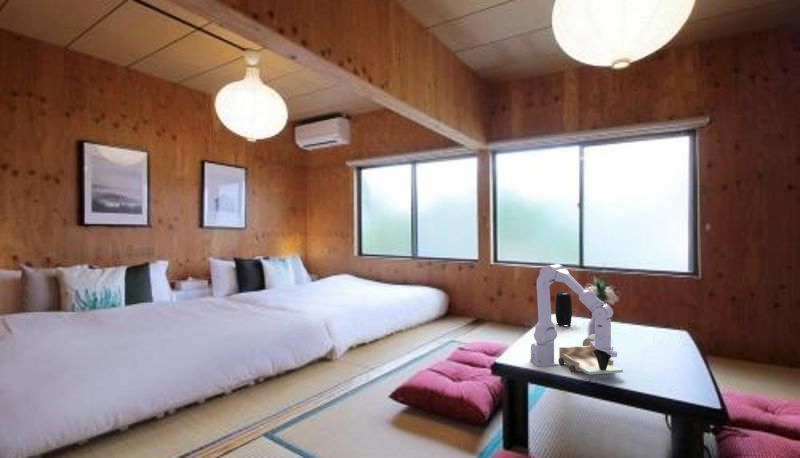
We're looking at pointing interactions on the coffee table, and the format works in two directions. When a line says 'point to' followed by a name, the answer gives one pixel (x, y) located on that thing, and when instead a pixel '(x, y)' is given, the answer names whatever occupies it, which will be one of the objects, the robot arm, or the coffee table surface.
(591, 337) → the ceramic mug
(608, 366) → the tailgate
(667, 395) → the coffee table surface
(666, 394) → the coffee table surface
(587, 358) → the wagon
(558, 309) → the portable speaker
